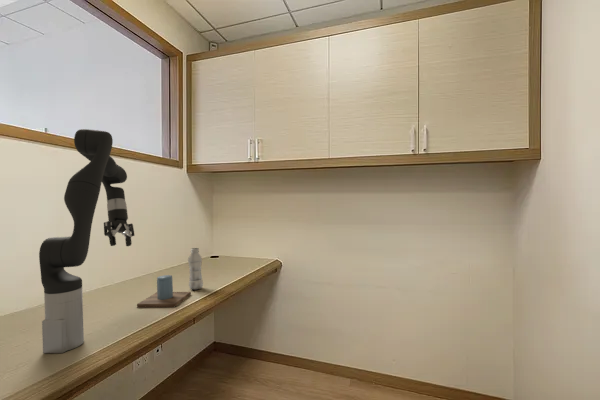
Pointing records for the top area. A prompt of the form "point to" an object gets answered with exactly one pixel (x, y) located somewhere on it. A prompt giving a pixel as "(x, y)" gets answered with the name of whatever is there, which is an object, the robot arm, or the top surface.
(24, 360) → the top surface
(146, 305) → the post dock
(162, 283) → the blue-grey rounded cylinder
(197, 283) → the plastic bottle
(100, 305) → the top surface
